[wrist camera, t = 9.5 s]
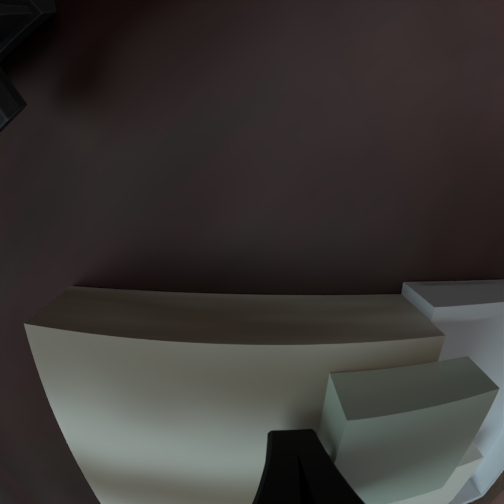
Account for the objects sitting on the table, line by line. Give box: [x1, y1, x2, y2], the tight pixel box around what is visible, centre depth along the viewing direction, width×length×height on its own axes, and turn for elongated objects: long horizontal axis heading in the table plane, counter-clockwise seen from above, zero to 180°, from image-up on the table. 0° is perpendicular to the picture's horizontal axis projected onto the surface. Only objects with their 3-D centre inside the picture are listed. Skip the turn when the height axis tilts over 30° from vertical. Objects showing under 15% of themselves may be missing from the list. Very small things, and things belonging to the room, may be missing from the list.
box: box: [401, 279, 504, 504], centre depth 13 cm, size 17×12×2 cm
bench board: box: [24, 286, 446, 504], centre depth 12 cm, size 16×13×4 cm
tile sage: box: [317, 356, 500, 504], centre depth 8 cm, size 5×5×2 cm
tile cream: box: [389, 441, 483, 504], centre depth 13 cm, size 5×5×2 cm
